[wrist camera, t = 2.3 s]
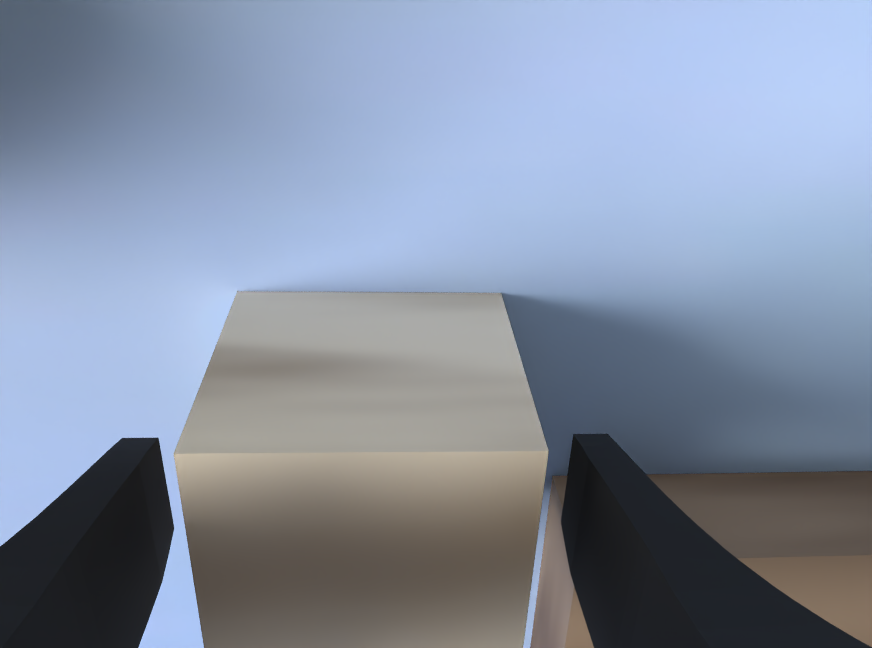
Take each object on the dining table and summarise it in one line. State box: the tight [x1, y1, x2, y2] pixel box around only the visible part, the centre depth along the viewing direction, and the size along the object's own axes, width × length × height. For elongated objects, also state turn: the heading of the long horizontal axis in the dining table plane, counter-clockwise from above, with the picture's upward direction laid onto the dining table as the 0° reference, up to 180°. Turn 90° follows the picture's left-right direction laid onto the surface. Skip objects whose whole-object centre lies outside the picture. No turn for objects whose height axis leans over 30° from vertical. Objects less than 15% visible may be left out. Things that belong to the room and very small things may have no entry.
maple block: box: [174, 291, 549, 648], centre depth 14 cm, size 5×5×5 cm
